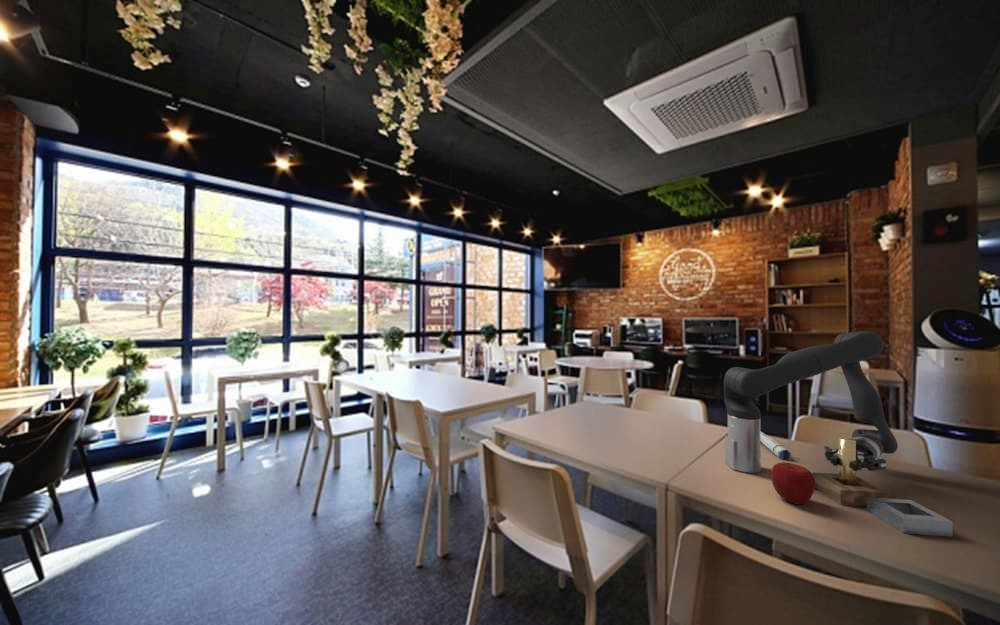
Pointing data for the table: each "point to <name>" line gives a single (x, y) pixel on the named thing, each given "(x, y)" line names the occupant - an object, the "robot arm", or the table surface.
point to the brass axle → (846, 461)
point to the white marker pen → (775, 447)
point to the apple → (793, 482)
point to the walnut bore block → (846, 489)
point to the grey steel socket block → (909, 517)
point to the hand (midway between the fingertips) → (844, 464)
